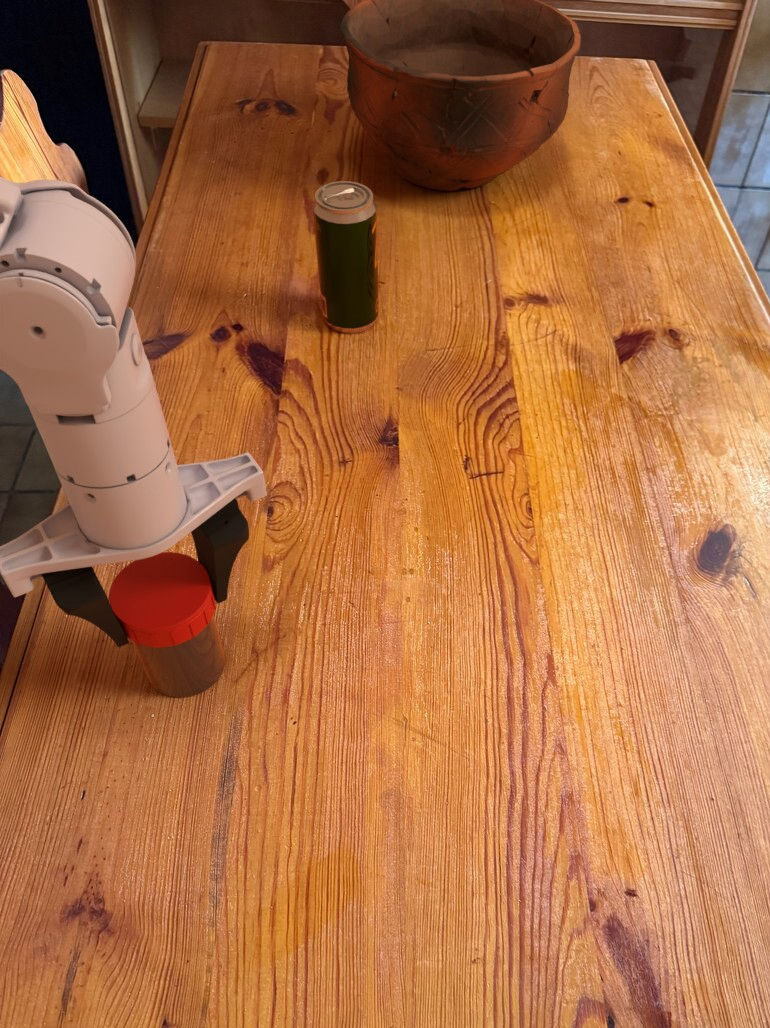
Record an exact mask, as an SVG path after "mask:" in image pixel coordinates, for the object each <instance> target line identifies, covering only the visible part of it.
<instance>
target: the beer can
mask: <svg viewBox="0 0 770 1028" xmlns="http://www.w3.org/2000/svg"><path fill="white" fill-rule="evenodd" d="M312 211H313V212H312V213H313V226H314V235H315V236H314V238H315V248H316V260H317V261H316V262H317V272H318V285H319V286H318V287H319V297H320V308H321V314H322V317H323V319H324V321H325V322H326V324H327V325H328V327H329V328H331V329H332V330H334V331H335V332H339V333H342V334H357V333H363V332H365V331H367V330H369V329H370V328H372V327H373V326H374V324H375V322H376V321H377V319H378V317H379V313H380V312H379V311H380V306H379V305H380V303H379V302H380V301H379V263H378V262H379V260H378V259H379V258H378V221H377V204H376V203H375V200H374V193H373V191H372V190H371V189H370V188H369V187H368V186H367V185H364V184H362V183H360V182H355V181H347V180H346V181H345V180H340V181H332V182H329V183H326V184H323V185H322V186H320V187H319V188H318V189H317V190H316V191H315V193H314V202H313V208H312Z"/></svg>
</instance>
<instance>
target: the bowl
mask: <svg viewBox="0 0 770 1028" xmlns="http://www.w3.org/2000/svg"><path fill="white" fill-rule="evenodd" d="M339 27H340V34H341V36H342V38H343V40H344V42H345V46H346V50H347V54H348V69H347V80H346V84H347V88H346V90H347V94H348V99H349V102H350V106H351V109H352V111H353V113H354V114H355V117H356V118H357V120H358V122H359V123H360V125H361V127H362V128H363V130H364V131H365V133H366V134H367V135H368V137H369V138H370V139H371V141H372V142H373V143H374V145H376V147H377V148H378V149H379V150H380V152H382V153H383V155H384V156H385V157H386V158H387V159H388V160H389V161H390V163H391V164H392V166H393V168H395V170H396V171H397V173H398V174H399V176H400V177H401V178H402V179H403V180H405V181H407V182H409V183H411V184H413V185H416V186H418V187H422V188H426V189H431V190H435V191H444V192H451V191H457V190H459V189H462V188H464V189H477V188H479V187H483V186H484V185H486V184H489V183H490V182H491V181H493V180H494V179H496V178H497V177H499V176H500V175H502V174H504V173H506V172H507V171H510V170H511V169H512V168H514V167H515V166H517V165H519V164H521V162H523V161H525V160H526V159H527V158H529V157H530V156H532V155H533V154H534V153H535V152H537V151H538V150H539V148H540V147H541V146H543V145H544V144H545V143H546V142H547V141H549V140H550V139H551V138H552V137H553V135H555V133H556V132H558V131H557V130H558V129H559V127H561V126H562V124H563V122H564V121H565V118H566V115H567V112H568V107H569V98H570V93H569V88H570V79H571V73H572V68H573V65H574V62H575V58H576V56H577V54H578V53H579V52H580V50H581V45H582V34H581V31H580V28H579V26H578V24H577V23H576V22H575V21H574V20H573V19H572V18H570V17H569V16H568V15H566V14H565V13H563V12H562V11H560V10H559V9H558V8H556V7H555V6H554V5H552V4H549V3H547V2H544V1H541V0H363V1H361V2H359V3H357V4H355V5H354V6H353V7H351V8H350V9H349V10H348V11H347V12H346V13H345V15H344V16H343V18H342V19H341V22H340V25H339Z"/></svg>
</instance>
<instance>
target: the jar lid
mask: <svg viewBox="0 0 770 1028" xmlns="http://www.w3.org/2000/svg"><path fill="white" fill-rule="evenodd" d="M108 600H109V603H110V606H111V608H112V611H113V613H114V615H115V616H116V618H117V620H118V622H119V623H120V625H121V627H122V629H123V630H124V632H125V634H126V636H127V638H128V640H130V641H131V642H132V641H134V642H135V643H136V644H140V645H144V646H148V647H155V648H157V647H169V646H174V645H175V646H176V645H178V644H181V643H183V642H186V641H188V640H190V639H192V638H193V637H195V636H196V635H197V634H199V633H200V632H201V631H202V630H203V629H204V628H205V627H206V626H207V625H208V624H209V622H210V620H211V618H212V616H213V614H215V611H216V610H217V606H216V603H217V602H216V600H215V595H214V592H213V588H212V582H211V581H210V577H209V574H208V572H207V570H206V569H205V568H204V566H203V565H202V564H201V563H200V562H198V559H196V558H194V557H192V556H190V555H187V554H184V553H180V552H171V551H164V552H162V553H160V554H157V555H155V556H152V557H149V558H145V559H140V560H134V561H131V562H129V564H128V565H126V566H125V567H124V568H122V570H120V572H118V574H117V575H116V576H115V578H114V579H113V581H112V583H111V585H110V589H109V593H108Z"/></svg>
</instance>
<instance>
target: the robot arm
mask: <svg viewBox="0 0 770 1028" xmlns="http://www.w3.org/2000/svg"><path fill="white" fill-rule="evenodd" d="M134 245H135V244H134V242H133V239H132V237H131V235H130V233H129V231H128V230H127V228H126V226H125V224H124V223H123V222H122V221H121V220H120V219H119V217H118V216H117V215H116V214H115V213H114V212H113V211H112V210H111V209H110V208H109V207H107V206H106V205H105V204H104V203H102V202H101V201H99V200H98V199H97V198H95V197H94V196H92V195H89V194H88V193H86V192H85V191H84V190H83V189H82V188H81V187H79V186H78V185H77V184H75V183H72V182H69V181H64V180H58V179H36V180H32V181H31V180H30V181H27V182H15V181H12V180H9V179H6V178H5V177H3V176H0V371H2V372H4V373H5V374H7V375H8V376H9V377H10V378H11V379H12V380H13V381H14V382H15V384H16V385H17V386H18V388H19V390H20V392H21V395H22V396H23V399H24V402H25V403H26V405H27V406H28V409H29V411H30V413H31V416H32V418H33V421H34V423H35V425H36V428H37V430H38V432H39V435H40V437H41V439H42V442H43V443H44V446H45V449H46V451H47V453H48V456H49V458H50V460H51V462H52V465H53V469H54V470H55V473H56V475H57V477H58V480H59V483H60V485H61V487H62V490H63V491H64V494H65V496H66V498H67V501H68V503H67V504H65V505H64V506H62V507H61V508H59V509H58V510H56V511H55V512H54V513H52V514H51V515H49V516H48V517H46V518H45V519H43V520H42V521H40V522H39V523H38V524H36V525H35V526H33V527H31V528H30V529H28V530H27V531H26V532H24V533H23V534H21V535H19V536H18V537H16V538H14V539H13V540H10V541H8V542H7V543H5V544H2V545H0V576H1V577H2V580H4V583H5V584H6V586H7V588H8V590H9V591H10V594H11V595H12V596H13V598H17V597H21V596H23V595H25V594H28V593H30V592H32V591H33V590H34V588H35V585H34V583H33V581H35V580H38V579H41V578H43V581H44V583H45V585H46V586H47V589H48V591H49V593H50V595H51V596H52V599H53V601H54V603H55V604H56V606H57V607H58V608H59V609H60V610H61V611H63V612H64V613H65V614H66V615H67V616H73V617H77V618H79V619H82V620H85V621H87V622H89V623H91V624H93V625H94V626H95V627H97V628H98V629H99V630H101V631H102V632H104V633H105V634H106V635H107V636H108V637H109V638H110V639H111V640H112V641H113V642H114V644H115V645H116V647H117V648H121V647H123V646H126V645H128V644H130V642H129V638H128V637H127V636H126V634H125V632H124V630H123V629H122V627H121V625H120V623H119V622H118V620H117V618H116V616H115V615H114V613H113V611H112V608H111V606H110V602H109V596H108V595H107V593H106V592H105V590H104V588H103V586H102V584H101V581H100V580H99V577H98V575H97V574H96V572H95V570H94V568H93V567H98V566H106V565H111V564H112V565H113V564H120V563H127V562H133V561H135V560H140V559H145V558H149V557H152V556H155V555H157V554H160V553H162V552H167V550H170V549H171V548H172V547H173V546H175V545H176V544H178V543H179V542H181V541H182V540H183V539H185V537H187V536H188V535H189V534H191V536H192V540H193V543H194V547H195V553H196V558H197V561H198V562H200V563H201V564H202V565H203V566H204V568H205V569H206V570H207V572H208V574H209V577H210V581H211V582H212V588H213V592H214V595H215V602H216V603H217V604H218V605H219V604H221V603H223V602H226V601H227V600H228V592H229V584H230V578H231V574H232V570H233V567H234V564H235V561H236V559H237V557H238V555H239V553H240V551H241V550H242V548H243V547H244V545H245V544H246V543H247V541H249V539H250V526H249V522H248V520H247V518H246V517H245V515H244V514H243V512H242V510H241V509H240V506H239V502H238V500H239V499H240V498H243V497H246V498H247V500H248V501H249V502H254V501H257V500H260V499H262V498H265V497H267V496H268V492H267V486H266V480H265V474H264V471H263V470H262V468H261V467H260V465H259V464H258V462H257V461H256V459H255V458H254V457H253V455H252V454H251V453H250V452H249V451H247V452H245V453H241V454H238V455H235V456H231V457H227V458H222V459H216V460H215V459H214V460H208V461H201V462H200V461H199V462H192V463H183V464H178V463H177V459H176V456H175V452H174V448H173V445H172V442H171V438H170V433H169V429H168V425H167V422H166V420H165V419H166V418H165V415H164V412H163V408H162V404H161V401H160V396H159V394H158V390H157V387H156V383H155V379H154V375H153V372H152V368H151V364H150V361H149V359H148V356H147V354H146V353H145V349H144V345H143V341H142V338H141V334H140V331H139V330H140V329H139V326H138V323H137V320H136V315H135V313H134V310H133V309H132V308H131V307H130V306H128V303H129V299H130V296H131V292H132V289H133V286H134V282H135V277H136V268H137V267H136V266H137V255H136V249H135V246H134Z"/></svg>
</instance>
